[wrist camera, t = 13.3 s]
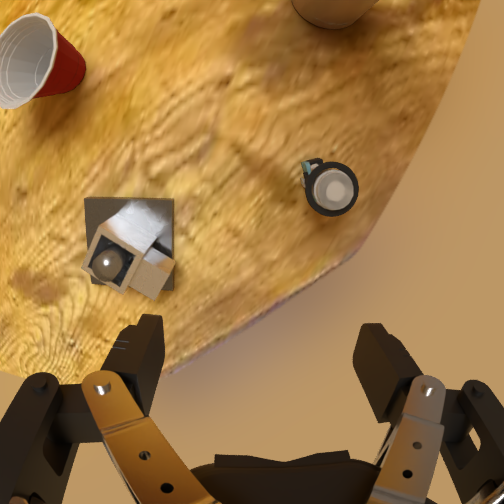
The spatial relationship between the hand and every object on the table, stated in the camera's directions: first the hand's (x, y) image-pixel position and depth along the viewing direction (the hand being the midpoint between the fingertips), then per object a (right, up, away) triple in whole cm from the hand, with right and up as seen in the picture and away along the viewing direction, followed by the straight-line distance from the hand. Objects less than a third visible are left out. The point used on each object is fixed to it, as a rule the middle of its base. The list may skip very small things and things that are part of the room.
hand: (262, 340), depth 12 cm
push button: (+7, +12, +26) cm, 30 cm away
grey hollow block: (-15, +4, +27) cm, 31 cm away
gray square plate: (-16, +5, +28) cm, 32 cm away
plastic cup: (-25, +27, +20) cm, 41 cm away
